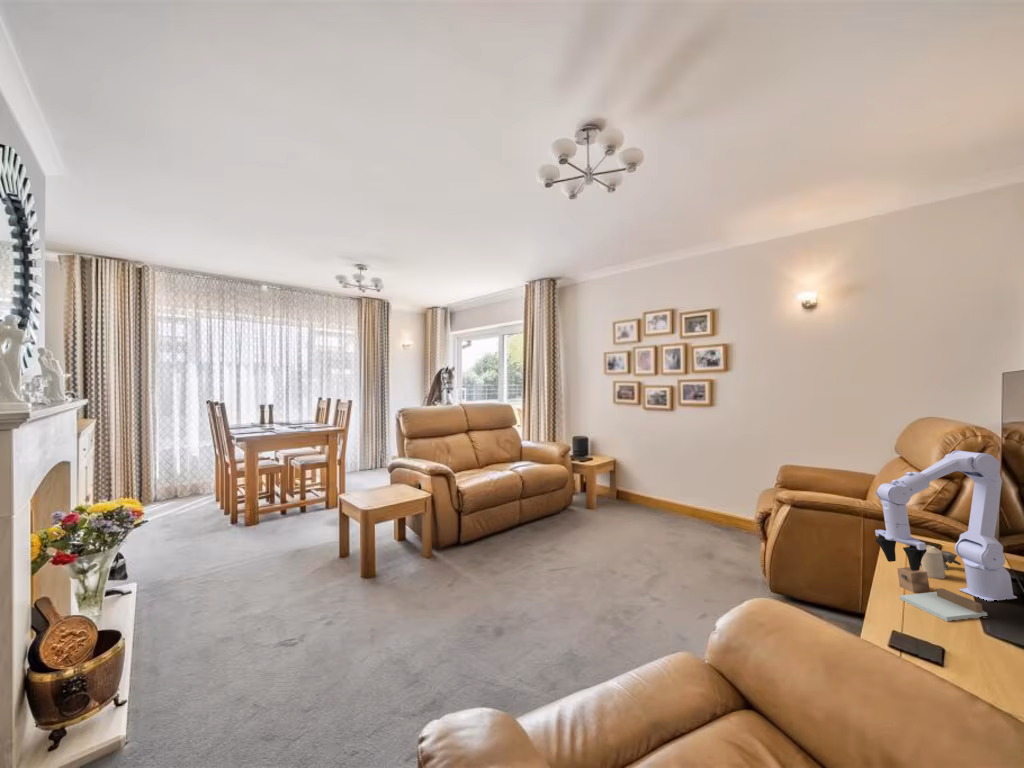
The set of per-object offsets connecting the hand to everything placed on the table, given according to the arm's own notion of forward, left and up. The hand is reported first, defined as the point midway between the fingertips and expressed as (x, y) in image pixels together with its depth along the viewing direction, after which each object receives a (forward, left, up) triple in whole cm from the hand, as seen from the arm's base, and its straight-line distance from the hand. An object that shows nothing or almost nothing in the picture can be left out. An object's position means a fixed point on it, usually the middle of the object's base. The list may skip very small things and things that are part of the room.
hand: (903, 565), depth 131 cm
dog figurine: (-29, -17, -10) cm, 35 cm away
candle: (-21, -11, -10) cm, 26 cm away
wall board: (-2, +8, -10) cm, 13 cm away
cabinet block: (-7, -4, -10) cm, 13 cm away
